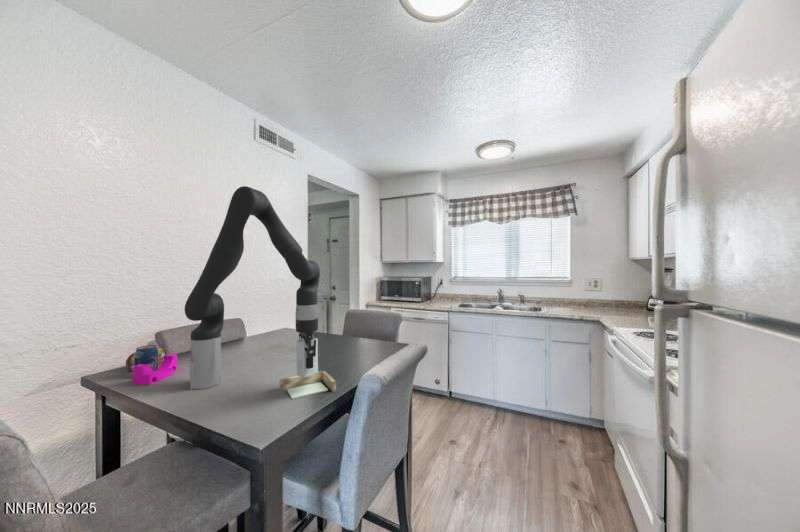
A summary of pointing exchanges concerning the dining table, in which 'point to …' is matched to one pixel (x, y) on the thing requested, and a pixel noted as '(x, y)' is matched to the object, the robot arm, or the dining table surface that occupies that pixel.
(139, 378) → the magenta notched block
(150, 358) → the soda can
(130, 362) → the tin
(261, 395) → the dining table surface
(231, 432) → the dining table surface
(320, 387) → the mat
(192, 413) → the dining table surface
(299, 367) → the skincare box
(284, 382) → the wooden angle bracket
